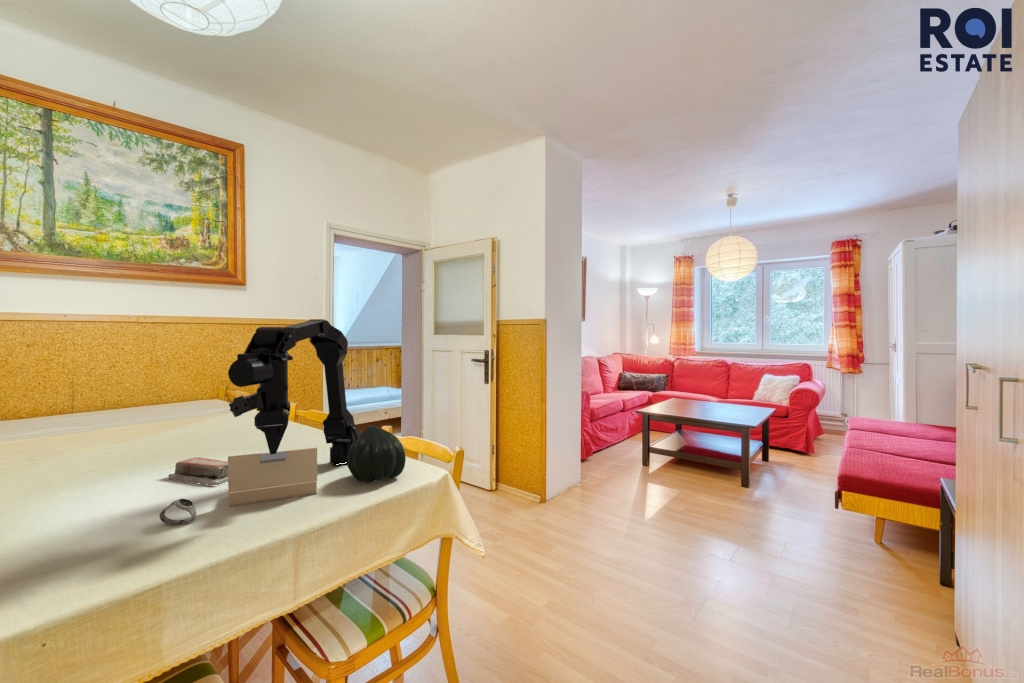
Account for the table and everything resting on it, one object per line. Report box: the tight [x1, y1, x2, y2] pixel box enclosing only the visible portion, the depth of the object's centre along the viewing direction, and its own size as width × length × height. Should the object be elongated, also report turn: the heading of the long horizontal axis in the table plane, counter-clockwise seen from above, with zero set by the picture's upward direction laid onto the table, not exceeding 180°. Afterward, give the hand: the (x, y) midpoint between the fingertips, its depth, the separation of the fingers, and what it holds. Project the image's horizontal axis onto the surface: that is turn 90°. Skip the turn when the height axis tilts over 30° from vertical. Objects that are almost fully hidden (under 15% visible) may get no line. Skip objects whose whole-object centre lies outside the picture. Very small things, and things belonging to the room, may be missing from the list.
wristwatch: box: [159, 498, 197, 527], centre depth 87 cm, size 4×6×5 cm, turn 102°
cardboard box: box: [228, 480, 318, 507], centre depth 103 cm, size 18×8×3 cm, turn 116°
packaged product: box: [168, 456, 228, 486], centre depth 115 cm, size 18×5×10 cm
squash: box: [346, 424, 406, 484], centre depth 115 cm, size 14×15×15 cm
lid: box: [227, 446, 318, 494], centre depth 97 cm, size 18×8×6 cm
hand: (274, 448), depth 97 cm, fingers open, 9 cm apart
